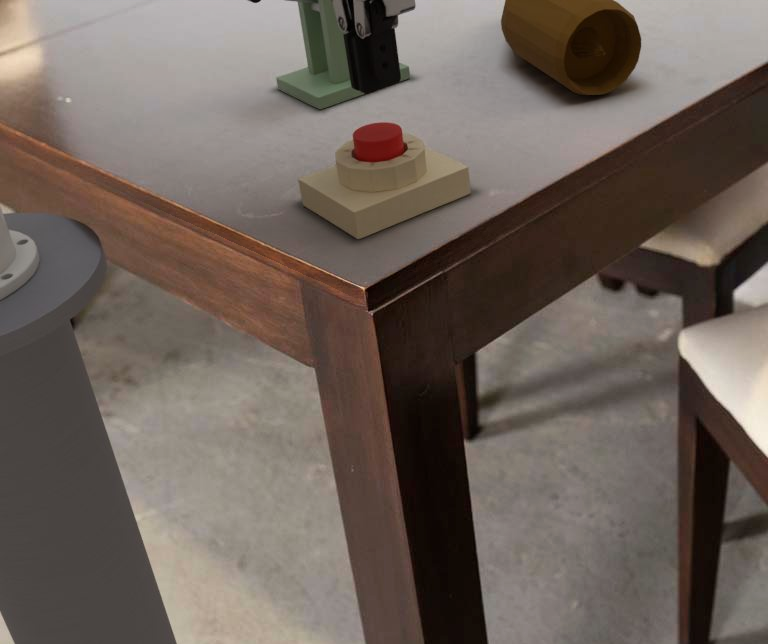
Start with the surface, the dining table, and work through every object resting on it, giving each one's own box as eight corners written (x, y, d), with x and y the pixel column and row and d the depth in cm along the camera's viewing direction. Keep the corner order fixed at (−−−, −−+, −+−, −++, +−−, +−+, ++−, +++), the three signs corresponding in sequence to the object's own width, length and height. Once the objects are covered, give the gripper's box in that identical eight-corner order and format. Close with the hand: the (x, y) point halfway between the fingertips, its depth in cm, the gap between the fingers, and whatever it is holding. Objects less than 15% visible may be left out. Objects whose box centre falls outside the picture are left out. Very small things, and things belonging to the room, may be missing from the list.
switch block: (358, 240, 78) (350, 188, 76) (302, 205, 84) (293, 156, 82) (470, 193, 82) (466, 143, 80) (410, 163, 88) (405, 115, 86)
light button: (372, 169, 79) (369, 146, 78) (346, 155, 82) (343, 132, 81) (413, 153, 80) (411, 130, 79) (386, 140, 83) (384, 117, 82)
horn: (523, 41, 116) (643, 117, 96) (439, 12, 112) (546, 86, 92) (554, -35, 113) (684, 28, 93) (469, -67, 108) (586, -9, 88)
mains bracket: (319, 110, 100) (302, 0, 94) (277, 89, 106) (259, -15, 100) (410, 78, 104) (399, -29, 98) (365, 60, 110) (351, -42, 104)
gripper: (227, -195, 72) (280, 79, 82) (347, -185, 61) (391, 129, 71) (325, -218, 75) (364, 49, 85) (457, -212, 64) (483, 94, 74)
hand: (376, 85), depth 78 cm, fingers closed
